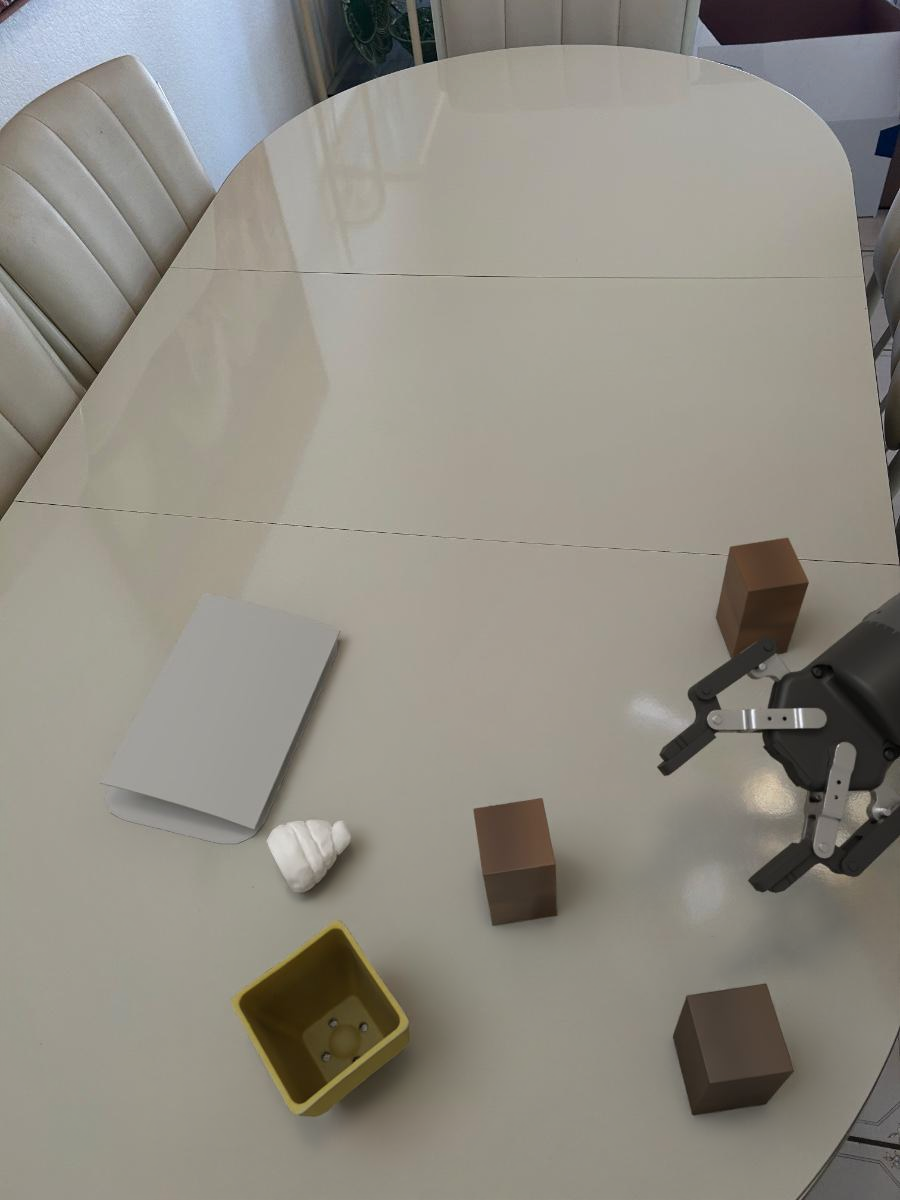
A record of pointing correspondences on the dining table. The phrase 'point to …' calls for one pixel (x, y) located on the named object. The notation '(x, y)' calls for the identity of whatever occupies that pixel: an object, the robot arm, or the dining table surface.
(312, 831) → the white swirl cone
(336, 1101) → the flower pot
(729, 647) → the walnut block far
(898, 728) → the robot arm
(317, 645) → the book
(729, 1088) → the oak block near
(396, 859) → the dining table surface
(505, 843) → the walnut block middle
